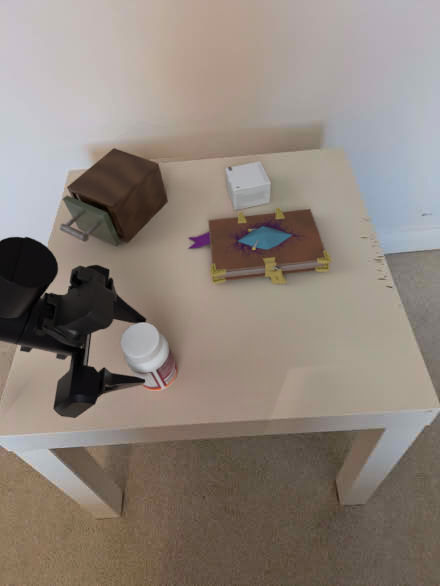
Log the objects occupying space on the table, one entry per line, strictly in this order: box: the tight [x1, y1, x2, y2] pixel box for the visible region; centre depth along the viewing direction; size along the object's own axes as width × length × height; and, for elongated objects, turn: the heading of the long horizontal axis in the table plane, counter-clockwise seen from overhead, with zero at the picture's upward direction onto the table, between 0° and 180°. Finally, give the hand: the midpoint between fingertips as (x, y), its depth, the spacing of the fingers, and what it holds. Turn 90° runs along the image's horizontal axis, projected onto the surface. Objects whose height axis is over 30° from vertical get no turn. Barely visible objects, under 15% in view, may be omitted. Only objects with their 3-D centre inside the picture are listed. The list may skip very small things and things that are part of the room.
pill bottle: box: [120, 322, 178, 392], centre depth 53 cm, size 6×6×11 cm
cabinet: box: [66, 147, 169, 244], centre depth 75 cm, size 14×12×10 cm
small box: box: [224, 160, 272, 211], centre depth 77 cm, size 8×8×5 cm
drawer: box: [59, 193, 122, 247], centre depth 72 cm, size 17×10×8 cm, turn 148°
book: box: [187, 207, 333, 285], centre depth 68 cm, size 16×25×5 cm, turn 95°
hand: (144, 350), depth 51 cm, fingers open, 9 cm apart
